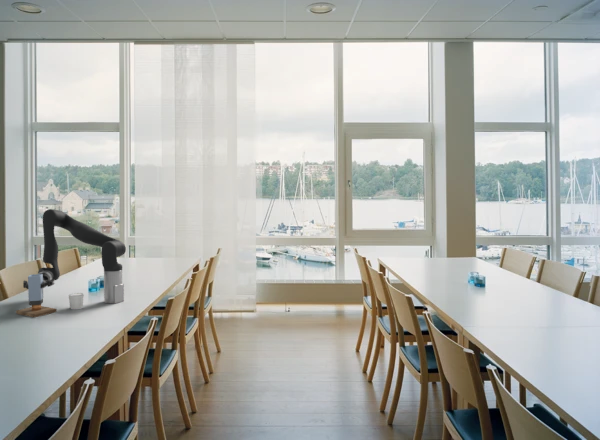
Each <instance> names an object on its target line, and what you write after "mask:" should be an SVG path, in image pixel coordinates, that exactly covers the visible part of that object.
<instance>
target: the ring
mask: <svg viewBox="0 0 600 440" xmlns="http://www.w3.org/2000/svg"><path fill="white" fill-rule="evenodd" d="M28 302H29V304H28V305H29V306H32V305H41V306H42V304H43V303H44V298H43V299H42V300H40V301H29V300H28Z"/></svg>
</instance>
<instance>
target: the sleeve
mask: <svg viewBox="0 0 600 440" xmlns="http://www.w3.org/2000/svg"><path fill="white" fill-rule="evenodd" d="M27 282H28V289H27V291H28V293H27V294H28V296H27V297H28V302H29V301H40V300H42V299H43V300H44V288H41V283H42V282H43V274H38V273H36V274H35V273H34V274H29V275H28V276H27Z"/></svg>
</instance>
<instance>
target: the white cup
mask: <svg viewBox="0 0 600 440" xmlns="http://www.w3.org/2000/svg"><path fill="white" fill-rule="evenodd" d="M84 296H85V294H84V293H83V292H77V293H76V292H75V293H70V294H69V295H68V301H69V309H71V310H79V309H82V308H83V307H84Z"/></svg>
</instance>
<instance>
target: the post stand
mask: <svg viewBox="0 0 600 440" xmlns="http://www.w3.org/2000/svg"><path fill="white" fill-rule="evenodd" d="M57 311H58V309H57V308H53V307H49V306H43V305H42V304H41V305H31V306H29V307H25V308H22V309H17V310H15V314H17V315H21V316H25V317H30V318H39V317H42V316H47V315H49V314H53V313H57Z"/></svg>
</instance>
